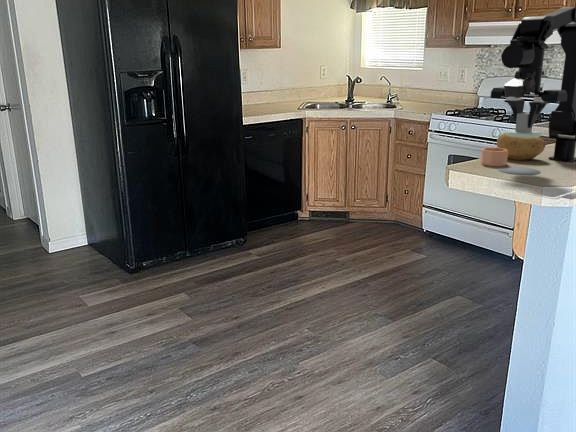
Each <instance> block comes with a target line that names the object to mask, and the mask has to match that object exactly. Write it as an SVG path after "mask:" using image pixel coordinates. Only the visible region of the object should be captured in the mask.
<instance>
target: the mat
mask: <svg viewBox="0 0 576 432" xmlns="http://www.w3.org/2000/svg"><path fill="white" fill-rule="evenodd" d="M497 171H498V172H500V173H503V174H506V175H515V176H536V175H541V173H542V171H540V170H538V169H536V168H535V169H534V168H532V167H523V166H503V167H502V166H501V167H499V168H497Z"/></svg>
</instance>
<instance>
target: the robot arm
mask: <svg viewBox="0 0 576 432" xmlns="http://www.w3.org/2000/svg"><path fill="white" fill-rule="evenodd" d="M555 30H556V31H557V34H558V35H559V37H560V46H561V48H562V50H563V51H564V64H563V72H562V79H561V80H562V81H561V85H560V86H561V87H560V89H544V90H543V86H542V85H541V83H542V77H543V76H544V75H545V72H546V71H545V70H543V66H544V59H545V50H547V49H548V47H549V46H548V44H547V43H546V41H547V40H548V39H549V38H550V37H551V36H552V35H553V34H554V31H555ZM500 55H501V56H500V59H501V63H502V64H503V66H505V67H506V68H508V69H518V70H516V71H515V73H514V77H513V78H511V79H510V80H509V81H507V82H506V83H504V84H503V86H497V87H493V88H492V90H491V91H490V97H489V98H490V99H499V100H500V99H502V98H505V99H504V103H507V104H508V106H509V107H510V109H511V112H512V114H513V118H514V121H515V124H516V120H517V113H524V109H525V103H526V100H525V99H533V101H529V102H528V105H529V108H530V109H529V113H530V114H529V121H528V128H531V127H532V128H533V126H534V124H535V123H536V121H537V119H538V117H539V115H540V114H541V113H542V111H543V110H544V108H545V107H546V105H549V104H551V103H559V104H558V105H557V107H556V108H555V110H551V112H550V120H549V122H548V139H550V140H552V139H554V140H555V141H554V142H555V143H554V151H553V156H548V159H549V160H555V161H561V162H574V161H576V156H575V155H576V6H575V5H574V6H562V7H560V8H559V9H557V10H555V11H552V12H550V13H549V12H548V13H547V14H543V15H540V16H539V15H538V16H524V17H522V19H521V20H520V22H519V23H518V25H517V28H516V29H515V31H514V34H513V36H512V38H511V40H510V43H509V45H508V46H506V47H505V48H504V50H503V51H502V53H501V54H500ZM523 98H524V99H523Z"/></svg>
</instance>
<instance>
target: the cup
mask: <svg viewBox="0 0 576 432" xmlns="http://www.w3.org/2000/svg"><path fill="white" fill-rule="evenodd" d="M479 155H480V157H479V163H480V164H481V165H485V166H490V167H491V166H492V167H502V166H503V167H504V166H507V164H508V159H509V158H508V150H507V149H504V148H498V147H494V146H493V147H491V146H490V147H482V148H480V154H479Z"/></svg>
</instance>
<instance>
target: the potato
mask: <svg viewBox="0 0 576 432" xmlns="http://www.w3.org/2000/svg"><path fill="white" fill-rule="evenodd" d="M496 148H504V149H507V150H508V158H507V159H510V160H516V161H523V160H524V161H525V160H533V159H535V158H536V157H537V156H539V155H541V154H542V153H543V152H544V151H545V148H546V142H545V140H544V139H543V138H540V137H533V138H524V137H512V136H507V135H505V133H502V134H501V135H499V136H498V137H497V140H496Z"/></svg>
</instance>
